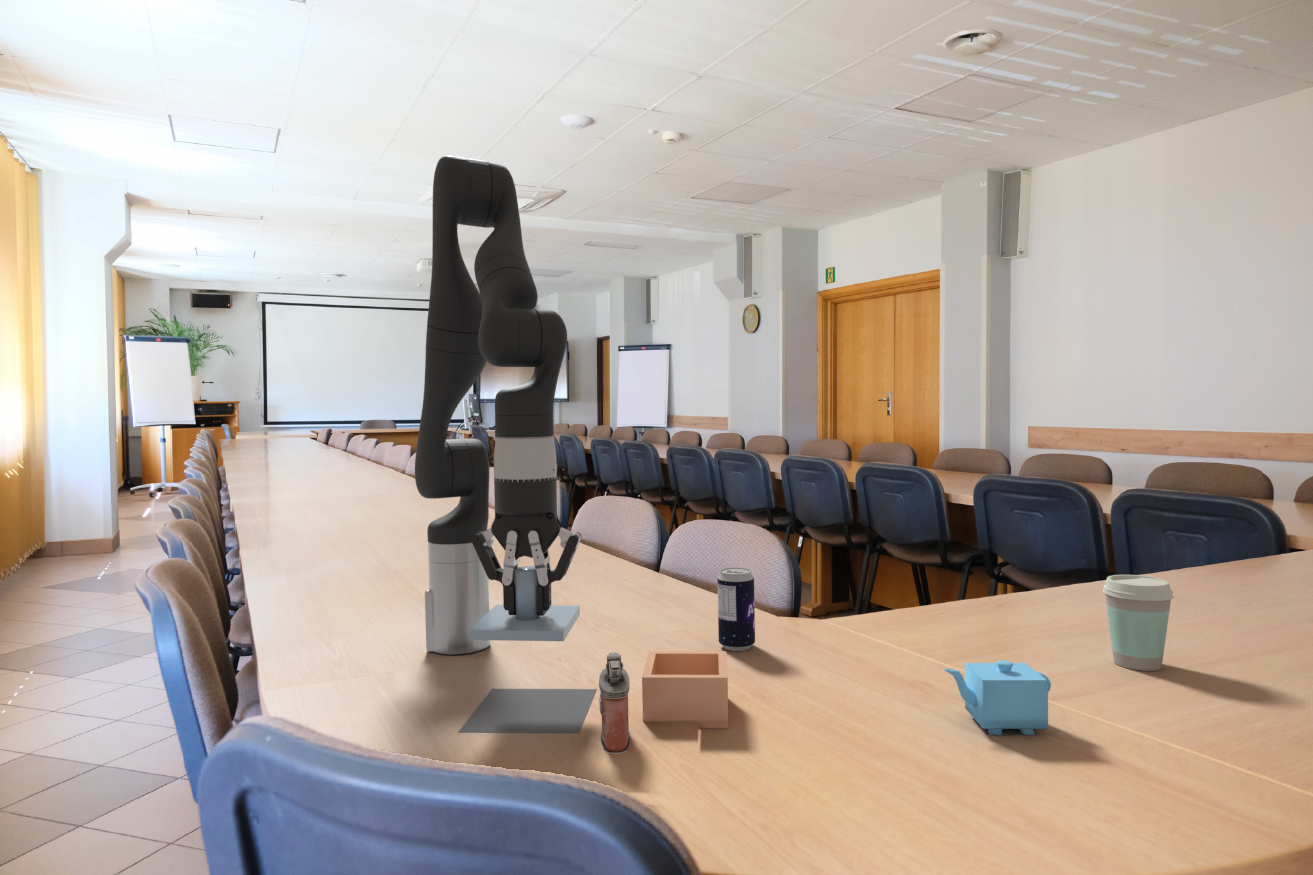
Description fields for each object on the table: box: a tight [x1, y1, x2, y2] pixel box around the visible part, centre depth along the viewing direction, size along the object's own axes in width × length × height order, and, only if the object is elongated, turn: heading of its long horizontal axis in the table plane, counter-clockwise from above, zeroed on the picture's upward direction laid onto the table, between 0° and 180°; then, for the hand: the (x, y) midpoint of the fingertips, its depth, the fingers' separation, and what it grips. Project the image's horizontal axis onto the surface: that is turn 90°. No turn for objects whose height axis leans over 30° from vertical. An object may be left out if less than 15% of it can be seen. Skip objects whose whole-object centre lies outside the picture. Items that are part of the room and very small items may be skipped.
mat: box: [458, 688, 597, 734], centre depth 97 cm, size 14×14×1 cm
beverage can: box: [717, 567, 756, 652], centre depth 123 cm, size 6×6×12 cm
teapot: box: [943, 660, 1052, 736], centre depth 91 cm, size 12×6×8 cm, turn 86°
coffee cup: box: [1102, 574, 1175, 672], centre depth 111 cm, size 9×8×12 cm
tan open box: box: [641, 650, 729, 730], centre depth 97 cm, size 10×10×6 cm
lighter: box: [598, 651, 632, 755], centre depth 88 cm, size 8×3×10 cm, turn 5°
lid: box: [470, 565, 581, 642], centre depth 97 cm, size 11×11×7 cm
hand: (528, 613), depth 97 cm, fingers closed on lid, 3 cm apart
